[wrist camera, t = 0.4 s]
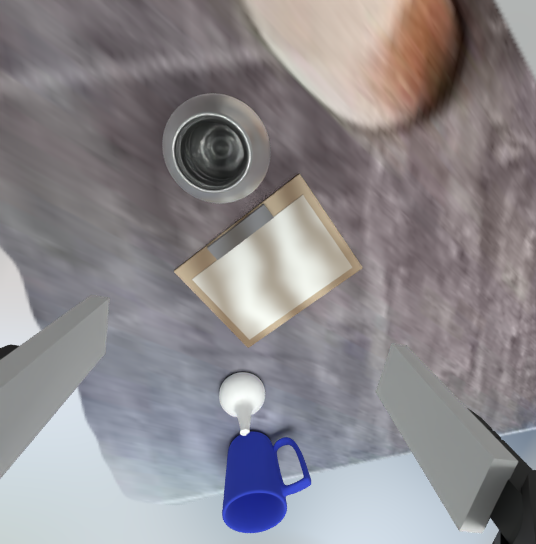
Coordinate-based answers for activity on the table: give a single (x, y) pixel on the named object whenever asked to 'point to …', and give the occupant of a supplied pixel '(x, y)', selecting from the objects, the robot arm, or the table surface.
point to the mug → (257, 483)
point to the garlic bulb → (242, 397)
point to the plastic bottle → (216, 148)
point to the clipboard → (270, 263)
